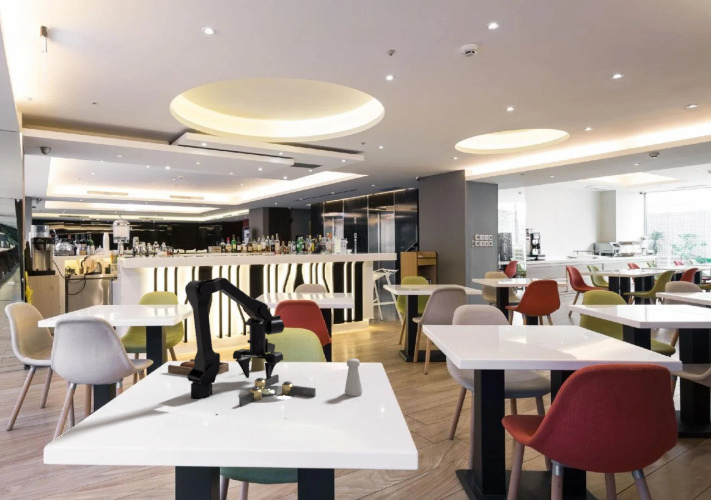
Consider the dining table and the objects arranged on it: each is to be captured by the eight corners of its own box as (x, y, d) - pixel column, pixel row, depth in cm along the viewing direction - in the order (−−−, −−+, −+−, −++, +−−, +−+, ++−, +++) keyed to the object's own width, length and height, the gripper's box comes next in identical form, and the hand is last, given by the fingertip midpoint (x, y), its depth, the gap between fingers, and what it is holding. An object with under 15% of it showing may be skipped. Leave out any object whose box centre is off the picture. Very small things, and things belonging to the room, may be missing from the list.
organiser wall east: (226, 370, 191) (226, 363, 191) (190, 366, 200) (190, 359, 200) (228, 370, 192) (228, 362, 192) (192, 365, 201) (192, 358, 201)
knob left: (261, 391, 156) (260, 380, 156) (252, 390, 157) (252, 379, 157) (281, 382, 167) (281, 372, 167) (273, 381, 168) (273, 371, 168)
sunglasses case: (226, 370, 192) (220, 358, 189) (216, 382, 186) (210, 370, 183) (193, 366, 199) (187, 354, 196) (182, 378, 194) (176, 366, 191)
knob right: (279, 393, 153) (279, 383, 153) (285, 390, 156) (285, 380, 156) (311, 398, 147) (311, 387, 147) (317, 395, 151) (317, 384, 151)
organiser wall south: (209, 377, 181) (209, 369, 181) (207, 377, 181) (207, 369, 181) (228, 371, 191) (228, 363, 191) (226, 370, 191) (226, 363, 191)
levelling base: (266, 415, 136) (266, 398, 136) (216, 407, 144) (216, 390, 144) (307, 393, 157) (306, 378, 158) (261, 387, 165) (261, 373, 166)
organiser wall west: (205, 377, 180) (205, 370, 180) (167, 372, 188) (167, 365, 188) (207, 377, 181) (207, 369, 181) (170, 372, 190) (170, 364, 190)
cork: (267, 371, 189) (267, 345, 189) (262, 375, 183) (262, 347, 183) (253, 371, 190) (252, 344, 190) (248, 375, 184) (248, 347, 184)
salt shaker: (360, 401, 148) (360, 361, 149) (343, 400, 149) (342, 360, 150) (363, 396, 154) (363, 357, 154) (347, 395, 155) (346, 357, 155)
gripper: (291, 334, 171) (291, 376, 171) (250, 331, 179) (250, 371, 179) (274, 339, 161) (274, 384, 161) (231, 336, 169) (231, 378, 168)
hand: (257, 379), depth 167 cm, fingers open, 9 cm apart
